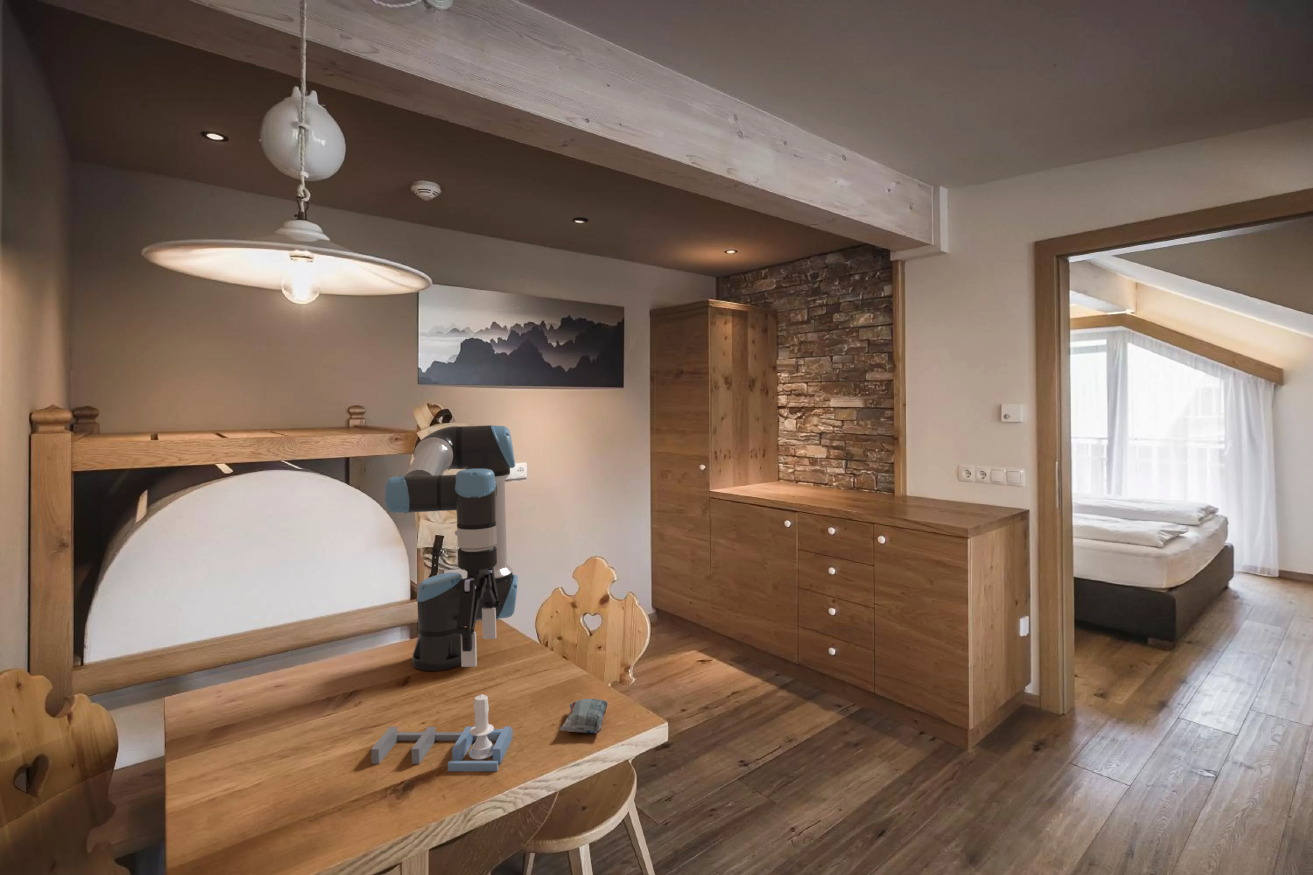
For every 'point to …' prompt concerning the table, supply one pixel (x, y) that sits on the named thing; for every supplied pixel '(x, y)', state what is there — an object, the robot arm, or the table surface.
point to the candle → (481, 730)
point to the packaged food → (585, 716)
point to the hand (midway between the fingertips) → (479, 651)
